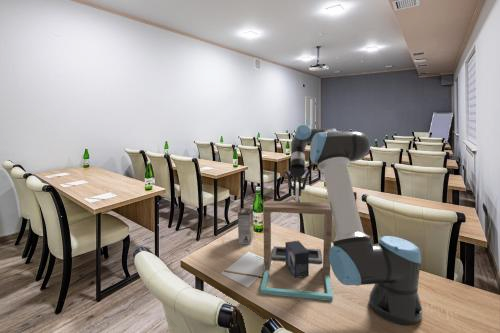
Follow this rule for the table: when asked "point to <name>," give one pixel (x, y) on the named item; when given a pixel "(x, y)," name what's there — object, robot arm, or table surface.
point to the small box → (297, 259)
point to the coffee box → (245, 226)
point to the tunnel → (297, 208)
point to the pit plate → (314, 254)
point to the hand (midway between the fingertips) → (296, 201)
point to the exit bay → (294, 292)
